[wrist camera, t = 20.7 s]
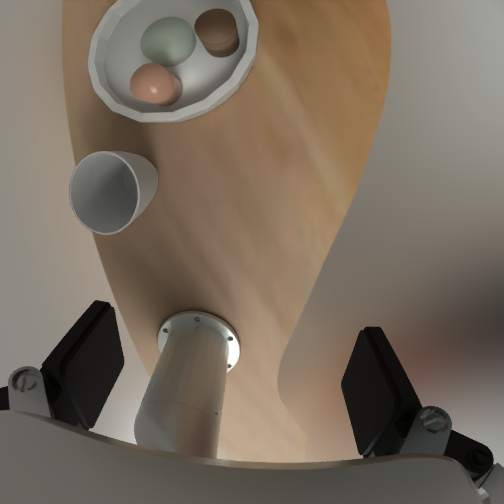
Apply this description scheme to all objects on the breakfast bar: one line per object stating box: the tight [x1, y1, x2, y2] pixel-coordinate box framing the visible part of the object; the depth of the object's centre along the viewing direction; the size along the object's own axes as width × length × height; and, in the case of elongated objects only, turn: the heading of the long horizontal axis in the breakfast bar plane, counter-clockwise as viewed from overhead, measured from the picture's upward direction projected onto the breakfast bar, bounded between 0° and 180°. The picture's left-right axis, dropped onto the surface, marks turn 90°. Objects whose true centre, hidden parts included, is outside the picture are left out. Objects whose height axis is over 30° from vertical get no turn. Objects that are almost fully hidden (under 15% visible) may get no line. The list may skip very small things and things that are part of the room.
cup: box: [69, 151, 159, 235], centre depth 29 cm, size 8×8×10 cm
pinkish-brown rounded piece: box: [130, 63, 183, 106], centre depth 26 cm, size 4×4×6 cm
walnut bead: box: [194, 8, 240, 58], centre depth 24 cm, size 4×4×6 cm
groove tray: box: [87, 0, 259, 123], centre depth 26 cm, size 20×20×4 cm
